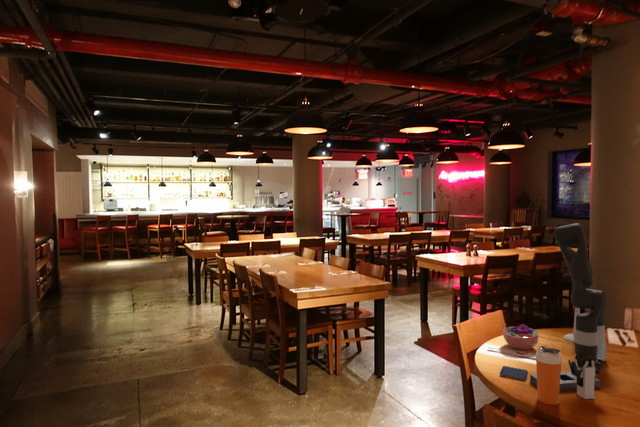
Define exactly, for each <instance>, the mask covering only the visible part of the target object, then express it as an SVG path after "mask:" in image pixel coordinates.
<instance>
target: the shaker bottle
mask: <svg viewBox="0 0 640 427" xmlns="http://www.w3.org/2000/svg"><path fill="white" fill-rule="evenodd" d="M559 352H561V351H560V349H558V348H554V347H545V346H544V345H541V346H539V347H538V349H537V351H536V352H535V363H536V364H535V365H536V367H535V368H536V374H537V386H536V387H537V391H536V392H537V399H538V401H539V402H541V403H542V404H545V405H553V406H555V405H558V404H559V402H560V392H561V391H560V375H561V372H562V371H561V370H562V363H563V356H562V355H561V354H560V353H559Z"/></svg>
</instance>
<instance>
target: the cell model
mask: <svg viewBox="0 0 640 427" xmlns="http://www.w3.org/2000/svg"><path fill="white" fill-rule="evenodd" d="M502 332H503V333H502V335H503V339H504V341H505V342H506V344H508V345H509V346H510V347H512V348H513V349H518V350H528V349H531V348H534V347H536V346H537V345H538V342H539V331H538V330H537V329H534V328H531V327H528V325H526V324H524V323H521V324H518V325H517V326H514V325H513V326H507V327H504V328H503V330H502Z"/></svg>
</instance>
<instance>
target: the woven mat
mask: <svg viewBox="0 0 640 427" xmlns="http://www.w3.org/2000/svg"><path fill="white" fill-rule="evenodd" d="M528 375H529V371H528V369H523V368H517V367H511V366H507V365H506V366H502V368H501V369H500V371H499V377H502V378H507V379H512V380H518V381H523V382H526V381H527V380H528V379H527V378H528Z"/></svg>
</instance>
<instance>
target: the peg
mask: <svg viewBox="0 0 640 427" xmlns="http://www.w3.org/2000/svg"><path fill="white" fill-rule="evenodd" d="M579 368H581V367H580V366H579ZM581 369H582V368H581ZM594 371H595V367H587V368H585V372H584V375H583V387H580V386H578V384H577V390H576V395H577V396H578V397H581V399H584V400H589V399H592V400H593V399H595V388H594ZM580 372H581V371H580Z"/></svg>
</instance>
